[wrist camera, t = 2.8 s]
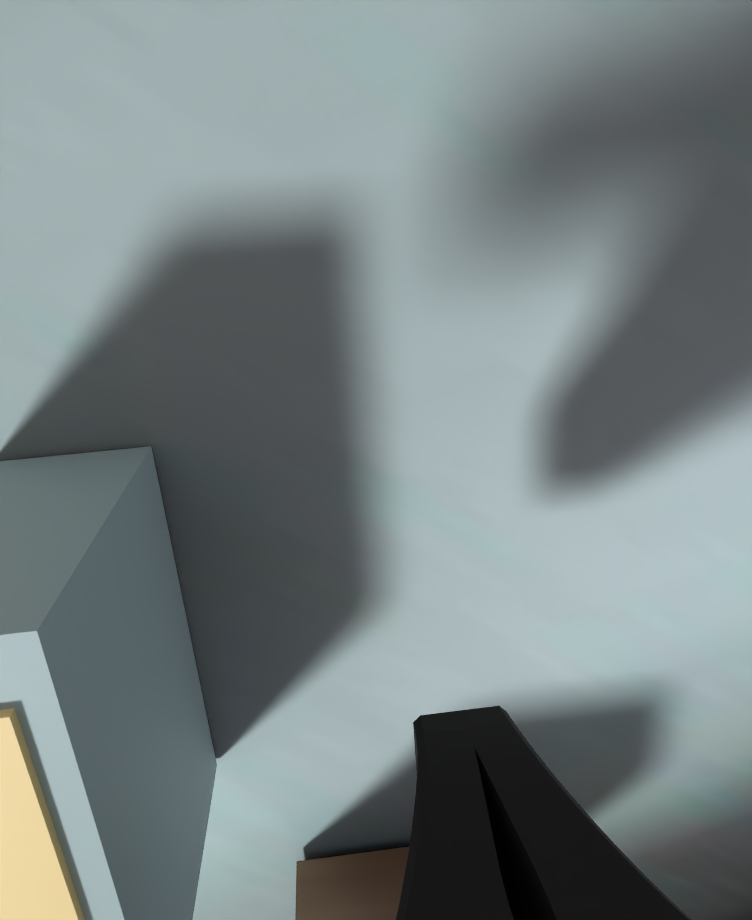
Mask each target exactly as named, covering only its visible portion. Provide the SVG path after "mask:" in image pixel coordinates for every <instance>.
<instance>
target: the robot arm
mask: <svg viewBox="0 0 752 920" xmlns="http://www.w3.org/2000/svg"><path fill="white" fill-rule="evenodd" d="M413 724H414V739H415V754H416V769H417V785H416V798H415V807H414V816H413V825H412V834H411V841H410V848H409V853H408V859H407V864H406V870H405V875H404V881H403V886H402V892H401V897H400V902H399V907H398V912H397V916H396V920H691V919H690V918H689V917H688V916H687V915H686V914H685V913H683V912H682V911H681V910H680V909H679V908H678V907H677V906H676V905H675V904H674V903H673V902H672V901H671V900H670V899H669V898H668V897H666V896H665V895H664V894H663V893H662V892H661V891H660V890H659V889H658V888H657V887H656V886H655V885H654V884H653V883H652V882H651V881H650V880H649V879H648V878H647V877H646V876H645V875H644V874H643V873H642V872H641V871H640V870H639V869H638V868H637V867H636V866H635V865H634V864H633V863H632V862H631V861H630V860H629V859H628V857H627V856H626V855H625V854H624V853H623V852H622V851H621V850H620V849H619V848H618V847H617V846H616V845H615V844H614V843H613V842H612V841H611V840H610V839H609V837H608V836H607V835H606V834H605V833H604V832H603V831H602V830H601V829H600V828H599V827H598V826H597V824H596V823H595V822H594V821H593V820H592V819H591V818H590V816H589V815H588V814H587V813H586V812H585V811H584V810H583V808H582V807H581V806H580V805H579V804H578V803H577V802H576V800H575V799H574V798H573V797H572V796H571V795H570V794H569V792H568V791H567V790H566V789H565V788H564V787H563V785H562V784H561V783H560V782H559V781H558V779H557V778H556V777H555V776H554V775H553V773H552V772H551V771H550V770H549V768H548V767H547V766H546V765H545V763H544V762H543V761H542V759H541V758H540V757H539V756H538V754H537V753H536V752H535V751H534V749H533V748H532V747H531V745H530V744H529V743H528V741H527V740H526V739H525V737H524V736H523V735H522V733H521V732H520V731H519V729H518V728H517V726H516V725H515V724H514V722H513V721H512V719H511V718H510V716H509V715H508V714H507V712H506V711H505V710H504V709H502V708H501V707H500V706H494V707H486V708H478V709H470V710H461V711H453V712H445V713H437V714H429V715H421V716H419V717H418V718H417V719H416V720H415V721H414V722H413Z"/></svg>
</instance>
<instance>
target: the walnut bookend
mask: <svg viewBox="0 0 752 920" xmlns="http://www.w3.org/2000/svg"><path fill="white" fill-rule="evenodd" d="M409 848H410V847H403V848H395V849H387V850H380V851H372V852H365V853H357V854H350V855H342V856H334V857H327V858H319V859H312V860H304V861H297V875H296V920H396V916H397V912H398V907H399V902H400V897H401V892H402V886H403V881H404V875H405V870H406V864H407V859H408V853H409Z"/></svg>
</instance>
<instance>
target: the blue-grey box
mask: <svg viewBox="0 0 752 920" xmlns="http://www.w3.org/2000/svg"><path fill="white" fill-rule="evenodd" d="M216 767H217V763H216V759H215V754H214V749H213V744H212V739H211V734H210V729H209V725H208V720H207V715H206V710H205V705H204V700H203V695H202V691H201V686H200V681H199V676H198V671H197V666H196V661H195V657H194V652H193V647H192V642H191V637H190V632H189V627H188V623H187V618H186V613H185V608H184V603H183V598H182V593H181V589H180V584H179V579H178V574H177V569H176V564H175V559H174V555H173V550H172V545H171V540H170V535H169V530H168V525H167V521H166V516H165V511H164V506H163V501H162V496H161V491H160V487H159V482H158V477H157V472H156V467H155V462H154V458H153V453H152V448H151V446H149V447H139V448H129V449H119V450H109V451H99V452H89V453H79V454H68V455H58V456H48V457H38V458H28V459H18V460H8V461H0V920H192V918H193V911H194V905H195V899H196V893H197V886H198V880H199V874H200V867H201V861H202V855H203V849H204V842H205V836H206V830H207V823H208V817H209V811H210V805H211V798H212V792H213V786H214V779H215V773H216Z"/></svg>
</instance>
